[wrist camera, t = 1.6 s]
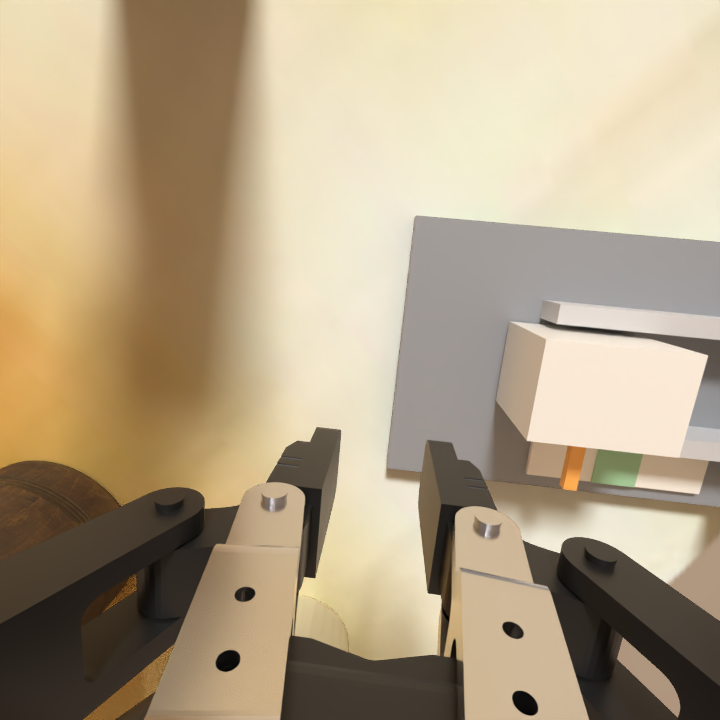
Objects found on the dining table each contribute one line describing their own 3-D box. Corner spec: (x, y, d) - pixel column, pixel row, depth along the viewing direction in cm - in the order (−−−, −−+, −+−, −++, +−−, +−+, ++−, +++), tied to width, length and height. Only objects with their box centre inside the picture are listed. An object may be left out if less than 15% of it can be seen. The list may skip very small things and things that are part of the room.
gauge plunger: (487, 450, 31) (514, 503, 24) (509, 321, 29) (546, 339, 22) (600, 463, 30) (661, 521, 24) (631, 333, 28) (708, 355, 21)
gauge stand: (387, 459, 33) (385, 534, 24) (414, 217, 29) (425, 196, 20) (788, 505, 32) (951, 605, 23) (876, 258, 28) (1119, 256, 18)
